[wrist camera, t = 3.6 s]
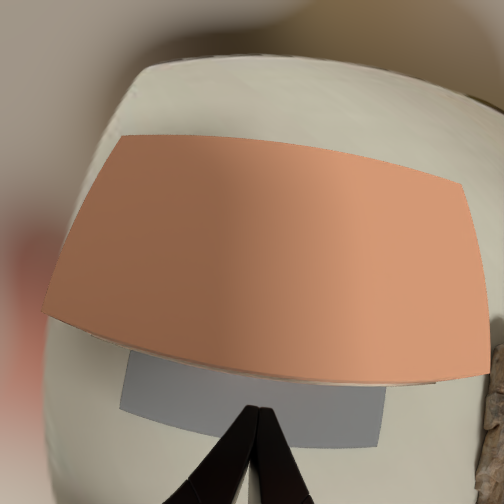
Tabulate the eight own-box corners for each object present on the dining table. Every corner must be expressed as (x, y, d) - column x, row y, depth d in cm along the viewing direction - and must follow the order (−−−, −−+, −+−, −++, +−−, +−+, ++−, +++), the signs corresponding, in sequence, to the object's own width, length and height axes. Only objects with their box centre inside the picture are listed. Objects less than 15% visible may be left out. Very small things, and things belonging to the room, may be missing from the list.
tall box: (338, 386, 14) (491, 375, 4) (177, 363, 15) (38, 312, 4) (345, 306, 17) (461, 183, 6) (195, 284, 17) (121, 134, 7)
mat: (374, 445, 13) (376, 446, 12) (122, 408, 14) (119, 408, 14) (375, 169, 22) (377, 166, 22) (199, 144, 24) (199, 141, 23)
